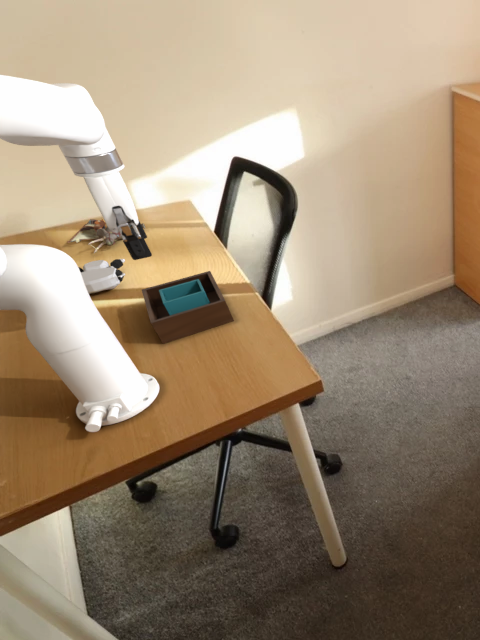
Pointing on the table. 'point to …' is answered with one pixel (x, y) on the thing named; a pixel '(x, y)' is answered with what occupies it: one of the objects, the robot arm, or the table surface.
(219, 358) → the table surface
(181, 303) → the box
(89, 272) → the robot toy
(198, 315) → the crate
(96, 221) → the figurine
